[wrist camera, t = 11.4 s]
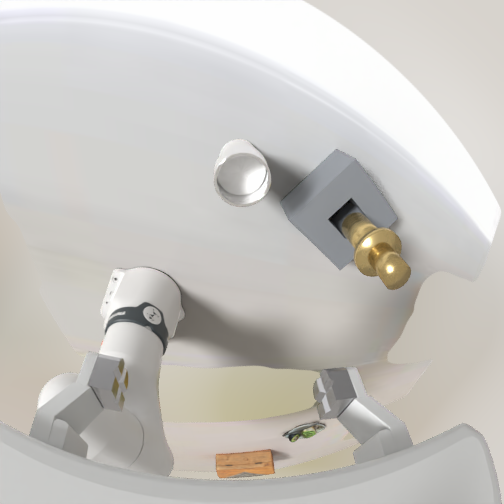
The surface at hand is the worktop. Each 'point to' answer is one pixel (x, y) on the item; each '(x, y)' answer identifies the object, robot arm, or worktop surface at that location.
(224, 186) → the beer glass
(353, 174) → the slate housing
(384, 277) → the brass knob plunger
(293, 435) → the salad plate
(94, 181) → the worktop surface
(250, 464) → the wooden box
